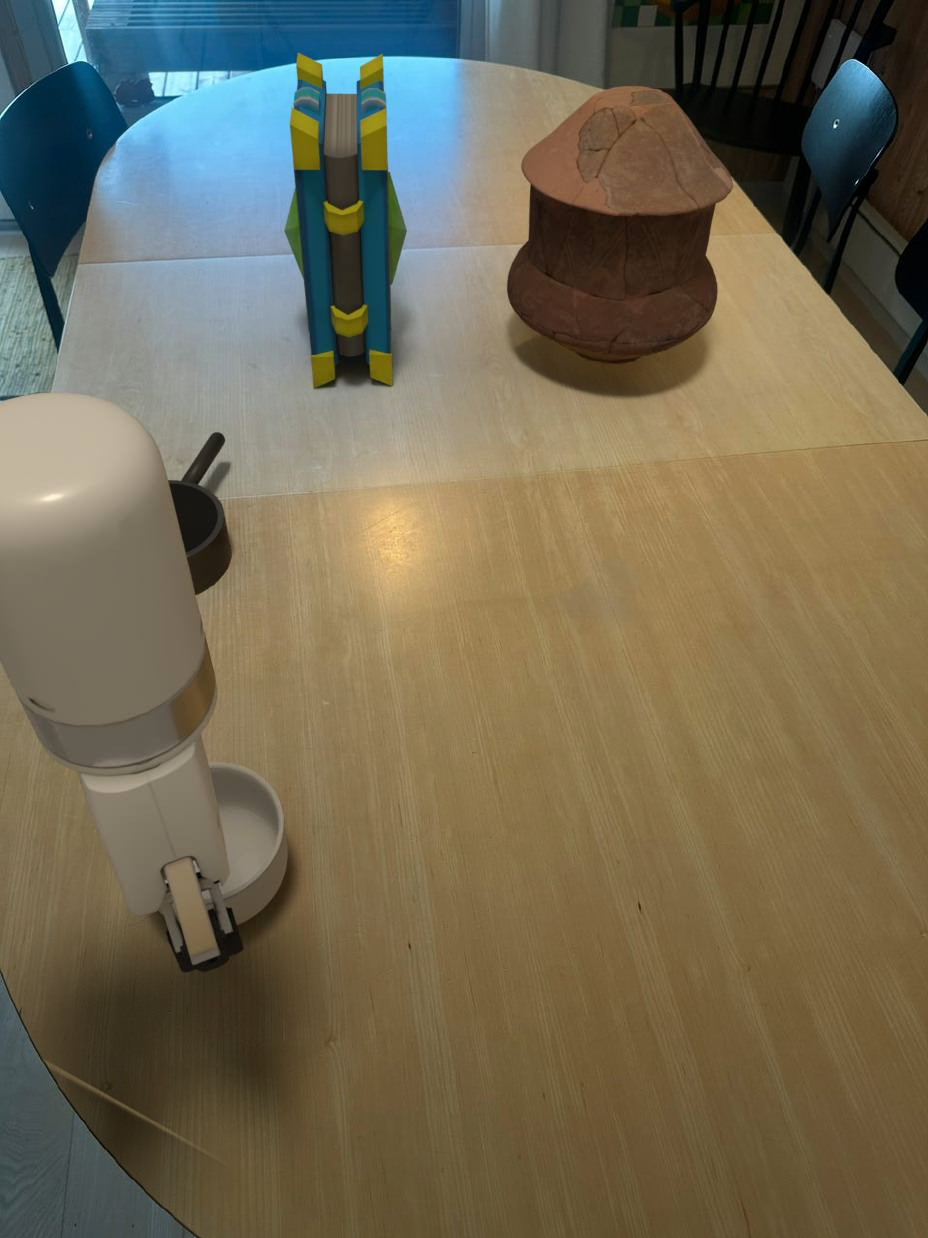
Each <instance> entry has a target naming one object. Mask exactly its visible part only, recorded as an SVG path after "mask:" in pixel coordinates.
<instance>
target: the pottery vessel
mask: <svg viewBox="0 0 928 1238" xmlns="http://www.w3.org/2000/svg"><path fill="white" fill-rule="evenodd" d="M520 169H521V172H522V174H523V176H524V178H525V179H526V181H527V182H528V183H529V184H530V185H529V186H530V187H529V206H528V207H529V208H528V209H529V210H528V237H527V238H528V240H527V241H526V242H525V243H524V244H523V245H522V246H521V247H520V248H519V250H518V251H517V253H516V255H515V257H514V258H513V260H512V262H511V265H510V268H509V271H508V274H507V282H506V293H507V298H508V302H509V304H510V306H511V307H512V310H513V311H514V312H515V314H516V315H517V317H518V318H519V319H520V320H521V321H522V322H523V323H524V324H525V325H526V326H527V327H529V328H530V329H531V330H533V331H535V332H536V333H538V334H539V335H540V336H542V337H544V338H546V339H548V340H549V341H552V342H553V343H555V344H557V345H559V346H561V347H563V348H565V349H566V350H569V351H571V352H574V353H575V354H576V355H578V356H579V357H580V358H583V359H585V360H587V361H591V362H596V363H601V364H602V363H603V364H612V365H621V364H622V365H623V364H628V363H633V362H635V361H638V360H639V359H640V358H642V357H647V356H651V355H655V354H658V353H661V352H664V351H667V350H669V349H672V348H674V347H677V346H679V345H680V344H683V343H684V342H685V341H688V340H689V339H690V338H692V337H693V336H694V335H695V334H697V333H698V332H699V331H700V330H702V329H703V328H704V327H705V326H706V325H707V324H708V322H709V321H710V320H711V319H712V316H713V314H714V313H715V310H716V306H717V302H718V301H717V300H718V294H719V293H718V291H719V289H718V282H717V277H716V274H715V271H714V270H715V269H714V267H713V266H712V263H711V262H710V260H709V258H708V257H707V251H708V246H709V242H710V236H711V231H712V230H711V229H712V223H713V219H714V214H715V209H716V205H717V204H718V203H721V202H722V201H724V200H725V199H726V198H727V197H728V195H729V194H730V193H732V190H733V189H734V182H733V177H732V175H731V173H730V171H729V170H728V168H727V167H726V166H725V164H724V163H723V162H722V161H721V160H720V159H719V158H718V157H717V156H716V154H715V153H714V152H713V151H712V150H711V148H710V146H709V145H708V144H707V142H706V141H705V139H704V138H703V137H702V135H701V133H700V132H699V130H698V129H697V128H696V126H695V125H694V123H693V121H691V119H690V117H689V116H688V115H687V114H686V113H685V112H684V110H683V109H682V108H681V107H680V105H679V104H678V103H677V101H675V99H674V98H673V97H672V96H671V95H670V94H669V93H667V92H664V91H663V90H662V89H660V88H659V89H658V88H652V87H647V86H642V85H623V86H615V87H611V88H607V89H604V90H602V91H598V92H596V93H594V94H593V95H592V96H591V97H590V98H588V100H586V101H585V102H584V103H583V104H581V105H580V106H579V107H578V108H577V109H576V110H575V111H573V113H571V114H570V115H569V116H568V117H567V118H565V119H564V120H563V121H562V122H561V123H560V124H559V125H558V126H557V127H556V128H555V129H554V130H553V131H552V132H550V133H549V134H548V135H546V136H545V137H544V138H543V139H541V140H539V142H537V143H535V144H534V145H533V146H532V147H531V148H529V150H527V152H525V155H523V158H522V161H521V166H520Z"/></svg>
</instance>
